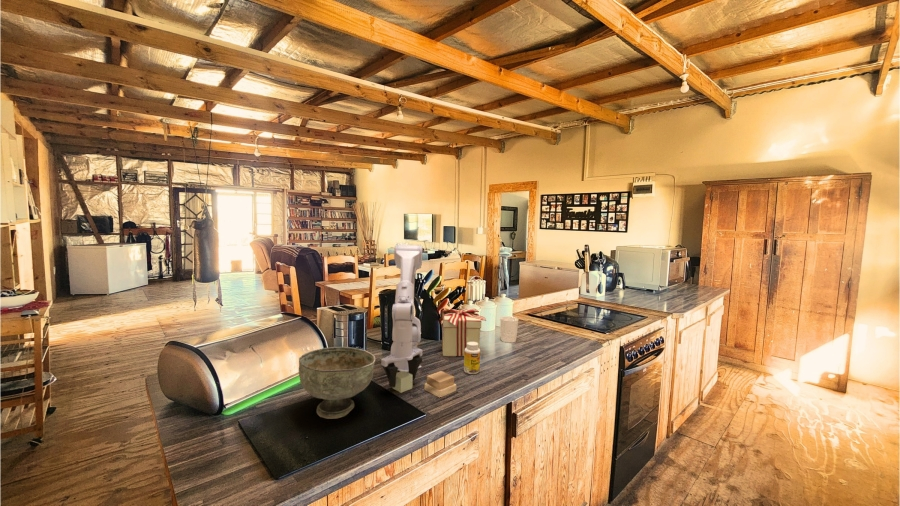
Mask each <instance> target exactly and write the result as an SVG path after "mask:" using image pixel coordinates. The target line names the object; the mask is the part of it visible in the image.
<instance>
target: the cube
mask: <svg viewBox="0 0 900 506" xmlns="http://www.w3.org/2000/svg"><path fill="white" fill-rule="evenodd" d="M413 381H414V380H413V375H412V374H410V373H409V372H406V371H399V372H398V371H397V374H396V385H395V387H394V388H393V387H391V389H393V390H395V391H397V392H399V393H401V394H402V393H404V392H407V391H409V390H412V389H413Z"/></svg>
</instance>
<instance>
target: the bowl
mask: <svg viewBox="0 0 900 506" xmlns="http://www.w3.org/2000/svg"><path fill="white" fill-rule="evenodd" d="M375 363H376V356H375V355H374V354H373V353H372V352H369V351H367V350H365V349H362V348H361V349H360V348H358V347H350V346H331V347H323V348H319V349H314V350H312V351H308V352H305V353H304V354H302V355H301V356H300V357H298V376H299V382H300V384H301V386H302V388H303V389H304V390H305V391H306V393H308V394H309V395H311V397H313V398H316V399H322V400H323V401H322V402H320V403H318V405H317V407H316V414H317V415H318V416H319V417H320V418H323V419H327V420H329V419H331V420H332V419H339V418H344V417H346V416H347V415H348V414H349V413H350V412H351V411H352V410H353V409H354V408H355V402H354V400H353V399H351V398H353V397H355V396H357V395H358V394H359V393H361V392H363V391H364V390H365V389H366V388H367V387H368V386H369V385H370V383H371V382H372V379H373V377H374V369H375Z"/></svg>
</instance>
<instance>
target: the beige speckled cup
mask: <svg viewBox="0 0 900 506" xmlns="http://www.w3.org/2000/svg"><path fill="white" fill-rule="evenodd" d="M499 326H500V327H499V328H500V341H502V342H503V343H509V344H511V343H516V342H517V336H518V329H519V328H518V327H519V318H518V317H515V316H507V315H506V316H500V324H499Z"/></svg>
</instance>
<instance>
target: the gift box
mask: <svg viewBox="0 0 900 506" xmlns="http://www.w3.org/2000/svg"><path fill="white" fill-rule="evenodd" d="M441 312H442V339H441V341H442V343H441V345H442V346H441V347H442V357H456V356H464V351H465V348H466V347H467V343H468V342H477V343H478V348H479V349H480V343H481V342H480V341H481V329H482V321H485V322H486V321H487V318H486V317H484V316H481V315H480V314H479V313H480V311H479V310H478V309H477V308H471V309H467V308H466V309H461V310H460V309H459V310H458V309H451V308H450V309H443V310H442V311H441Z"/></svg>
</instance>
